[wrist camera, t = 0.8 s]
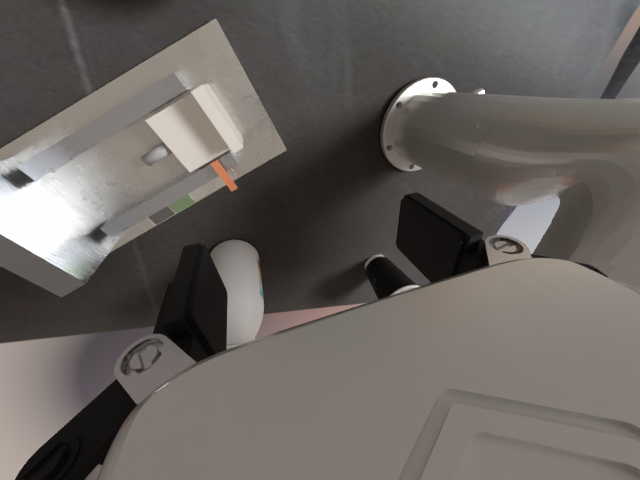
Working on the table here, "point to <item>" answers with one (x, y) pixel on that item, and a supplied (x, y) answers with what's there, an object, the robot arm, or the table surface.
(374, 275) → the dixie cup
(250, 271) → the milk bottle
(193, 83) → the bench
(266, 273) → the table surface
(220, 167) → the white stepped block
